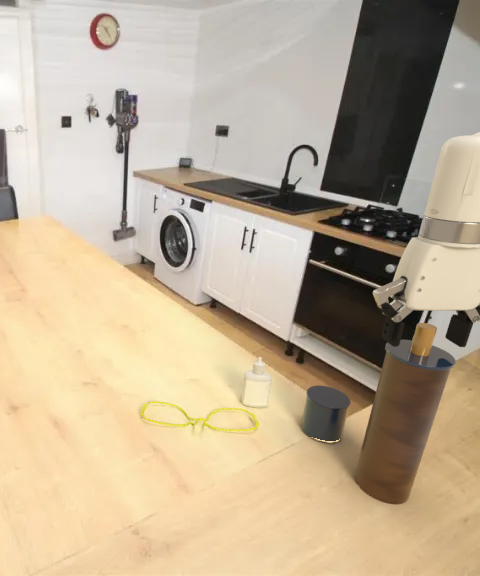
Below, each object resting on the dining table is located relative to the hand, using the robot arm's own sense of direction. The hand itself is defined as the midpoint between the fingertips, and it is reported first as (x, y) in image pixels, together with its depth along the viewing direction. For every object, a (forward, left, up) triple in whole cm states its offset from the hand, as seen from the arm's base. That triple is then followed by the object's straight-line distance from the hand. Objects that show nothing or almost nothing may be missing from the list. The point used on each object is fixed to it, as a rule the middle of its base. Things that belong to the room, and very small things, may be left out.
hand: (422, 342), depth 62 cm
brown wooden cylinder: (0, 0, -28) cm, 28 cm away
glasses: (+29, -16, -28) cm, 44 cm away
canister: (+4, -14, -28) cm, 32 cm away
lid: (0, 0, -2) cm, 2 cm away
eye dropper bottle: (+15, -23, -28) cm, 40 cm away
